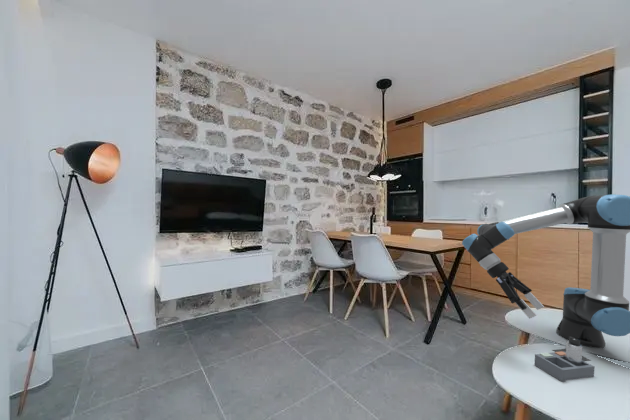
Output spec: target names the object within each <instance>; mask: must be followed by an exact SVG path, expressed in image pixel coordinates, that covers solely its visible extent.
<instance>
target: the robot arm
mask: <svg viewBox="0 0 630 420" xmlns="http://www.w3.org/2000/svg"><path fill="white" fill-rule="evenodd" d="M582 223H587V229H589V230H590V231H591V232H592V244H591V245H592V247H591V249H592V250H591V267H590V269H591V271H590V289H587V288H580V287H565V288H564V292H563V301H562V302H563V304H562V317H561V320H560V322H559V324H558V326H557V328H556V334H557V335H558V336H559V337H561V338H562V339H564V340H566V341H569V337H575V338H578V339H580V345H582V347H588V348H594V349H596V348H597V349H603V348H604V347H605V348H606V340H605V338H604V335H603V333H604V334H606V335H607V336H608V335H609V336H612V337H624V336H628V335H629V334H630V301H629V300H628V299H627V298H625V296H624V288H625V287H624V286H625V269H626V268H625V267H626V266H625V265H626V250H627V249H626V248H627V247H626V245H627V244H626V243H627V235H628V234H629V233H630V196H629V195H625V194H616V193H613V194H604V195H601V194H600V195H599V194H598V195H589V196H586V197H581V198H578V199H575V200H571V201H569V202H564V203H561V204H559V205H558V207H553V208H550V209H545V210H541V211H537V212H534V213H533V212H532V213H528V214H524V215H521V216H516V217H512V218H508V219H504V220H499V221H496V222H492V223H484V224H480V225H479V226H478V228H477V230H476V233H477V234H476V233H471V234H470V235H468V236H467V237H465V238H464V239H462V241H461V244H462V246H463V247H464V249H466V251H467V252H468V253H469V254H470V255H471V257H472V258H473V259H474V260H475V261H476V262H477V263H478V264H479V267H482V269H484V270H486V272H487V274H488V275H489V276H490V277H491V278H492V279H495V278H496V279H495V281H496V283H498V285H499V286H500V287H501V290H502V291H503V292H504V294H505V295H506V297H507V298H508V301H510V302H511V304H516V306H517V307H518V308H519V309H520V310H521V311H522V312H523V313H524V314H525V315H526V316H527V318H528V319H532V318H534V317H536V316H537V315H538V314H536V311H535V312H534V310H533V309H532V308H531V307H530V306H529V305H528V303H526V302H525V300H523V299H522V298H521V297H520V296H519V294H518V293H517V291H518V292H520V293H522V294H523V297H524V298H526V300H528V302H529V303H530V304H531V305H532V306H533V307H534V308H535V309H536V310H537V311H539V310H541V309H543V308H544V307H545V306H544V305H543V304H542V302H541V301H540V300H538V298H537V297H536V296H535V295H534V294H533V293H532V291H533V290H532V289H531V288H530V287H528V286H527V285H526V284H524V282H522V281H521V280H520V279H518V278H517V277H516V276H515V274H513V273H512V272H510V271H509V272H507V271H508V270H509V267H508V265H507V264H505V263H504V261H503V262H502V261H501V258H500V257H499V256H498V255H497V254H496V253H495V252H494V251H493V249H494V248H497V247H498V246H499V245H501V244H502V243H505V242H506V241H508V240H510V239H511V238H513V236H515V235H518V234H522V233H527V232H530V231H535V230H539V229H545V228H548V227H549V228H550V227H554V226H558V225H562V224H567V225H573V224H582ZM605 348H604V349H605Z"/></svg>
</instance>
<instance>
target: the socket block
mask: <svg viewBox="0 0 630 420" xmlns="http://www.w3.org/2000/svg"><path fill="white" fill-rule="evenodd" d="M533 365H534V366H536V367H537V368H538V369H541V370H542V371H544V372H545V373H546V374H549V375H550V376H552V377H554V378H555V379H556V380H558V381H560V382H566V381H568V380H571V381H572V380H577V379H584V378H593V377H595V366H594V365H592V364H590V363H588V361H583V360H582V364H581V366H576V365H574V364H572V363H570V362H568V361H566V352H565V351H564V352H563V351H561V352H554V351H553V352H542V353H535V354H534V364H533Z"/></svg>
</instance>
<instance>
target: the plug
mask: <svg viewBox="0 0 630 420" xmlns="http://www.w3.org/2000/svg"><path fill="white" fill-rule="evenodd" d="M565 347H566V348H565V349H566V361H568V362H570V363H572V364H574V365H576V366H581V364H582V356H583V345H580V339H578V338H575V337H569V341H568V340H566V345H565Z"/></svg>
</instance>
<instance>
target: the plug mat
mask: <svg viewBox="0 0 630 420" xmlns="http://www.w3.org/2000/svg"><path fill="white" fill-rule="evenodd" d="M551 351H552V352H553V353H554V352H561V351H563V352H564V351H565V352H566V348H561V349H560V348H559V349H551ZM582 360H583V361H585V362H589V361H592V360H591V359H589V358H587V357H586V356H583V355H582Z"/></svg>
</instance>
